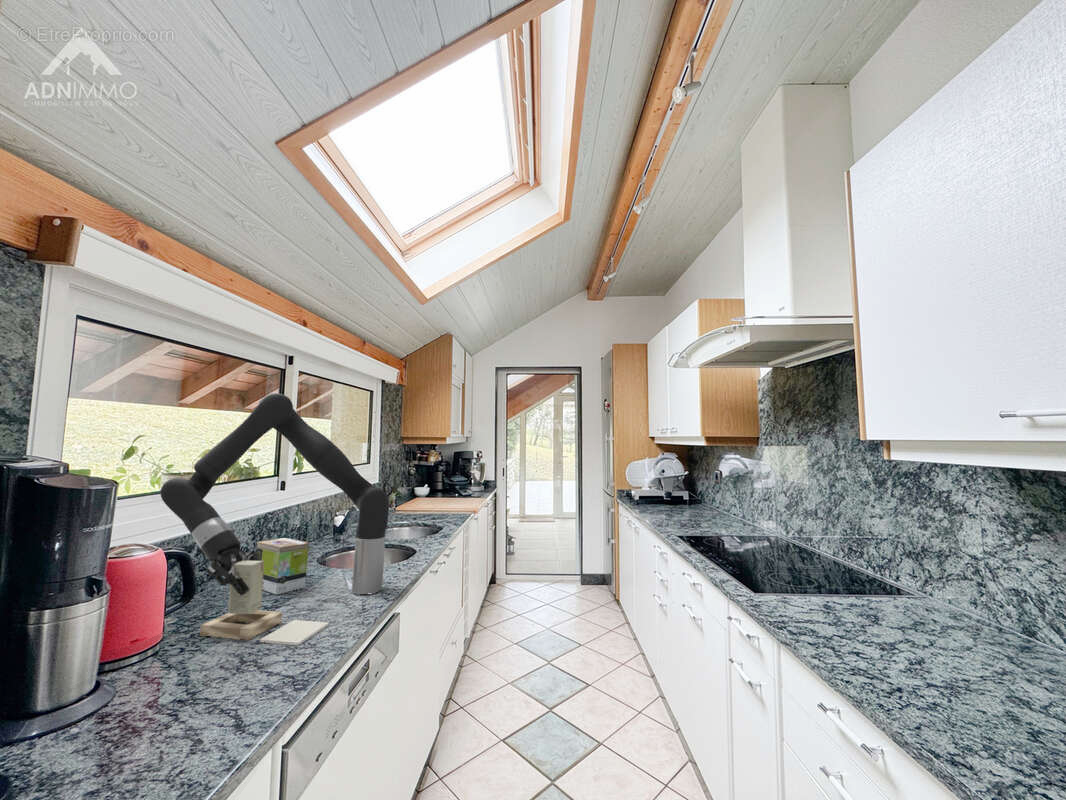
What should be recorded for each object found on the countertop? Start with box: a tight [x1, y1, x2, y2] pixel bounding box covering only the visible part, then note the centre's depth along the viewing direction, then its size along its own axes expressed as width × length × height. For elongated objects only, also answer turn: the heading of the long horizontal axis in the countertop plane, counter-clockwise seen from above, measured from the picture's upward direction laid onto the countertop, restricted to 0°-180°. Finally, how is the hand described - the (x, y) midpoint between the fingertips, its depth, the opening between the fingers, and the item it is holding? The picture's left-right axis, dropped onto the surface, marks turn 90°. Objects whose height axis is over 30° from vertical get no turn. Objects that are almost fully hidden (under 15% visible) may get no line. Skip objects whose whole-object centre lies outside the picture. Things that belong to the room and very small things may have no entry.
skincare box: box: [227, 560, 264, 614], centre depth 110 cm, size 6×4×12 cm
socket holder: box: [199, 609, 283, 641], centre depth 109 cm, size 11×13×2 cm
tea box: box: [255, 537, 310, 596], centre depth 142 cm, size 15×10×15 cm, turn 58°
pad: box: [259, 619, 330, 646], centre depth 107 cm, size 12×10×1 cm
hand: (252, 589), depth 110 cm, fingers closed on skincare box, 4 cm apart
